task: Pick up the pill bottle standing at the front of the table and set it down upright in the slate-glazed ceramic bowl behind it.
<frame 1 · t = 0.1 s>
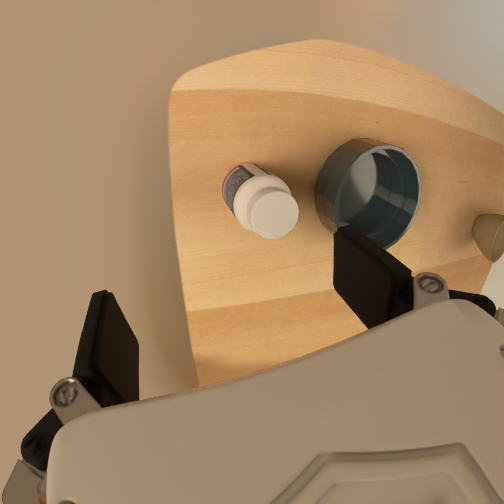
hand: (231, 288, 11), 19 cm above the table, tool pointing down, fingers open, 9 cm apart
flower pot: (477, 225, 46), on the table
pill bottle: (245, 186, 30), on the table
bowl: (358, 189, 33), on the table
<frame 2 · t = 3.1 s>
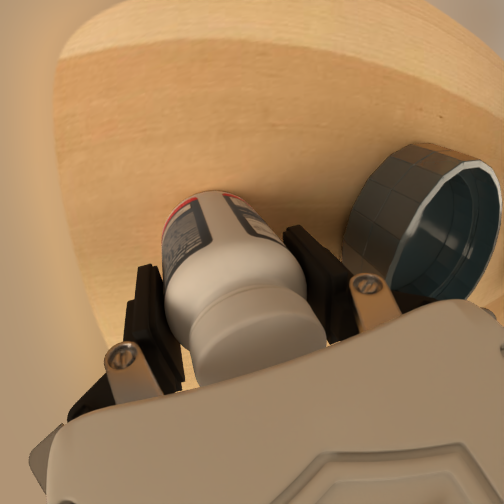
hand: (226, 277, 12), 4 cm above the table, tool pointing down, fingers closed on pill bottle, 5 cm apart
pill bottle: (210, 235, 15), on the table, touching gripper
bowl: (408, 227, 19), on the table
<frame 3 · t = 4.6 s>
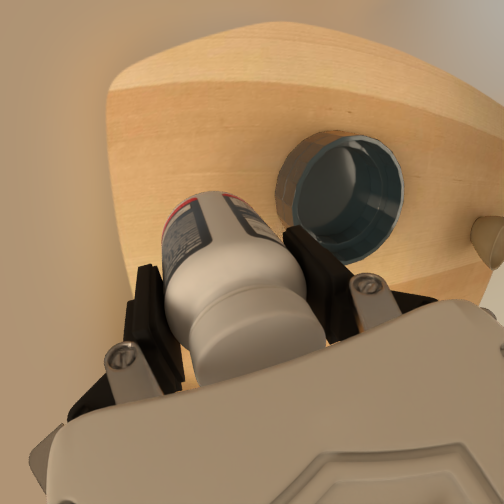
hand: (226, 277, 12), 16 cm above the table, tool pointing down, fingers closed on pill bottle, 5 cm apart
flower pot: (475, 229, 42), on the table
pill bottle: (210, 235, 15), point 12 cm above the table, touching gripper
bowl: (329, 189, 30), on the table
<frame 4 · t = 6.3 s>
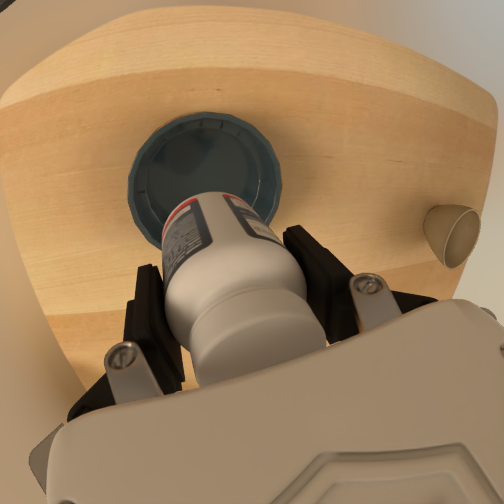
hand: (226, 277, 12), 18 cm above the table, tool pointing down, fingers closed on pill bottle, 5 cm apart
flower pot: (431, 220, 40), on the table
pill bottle: (211, 235, 15), point 14 cm above the table, touching gripper
bowl: (200, 178, 27), on the table
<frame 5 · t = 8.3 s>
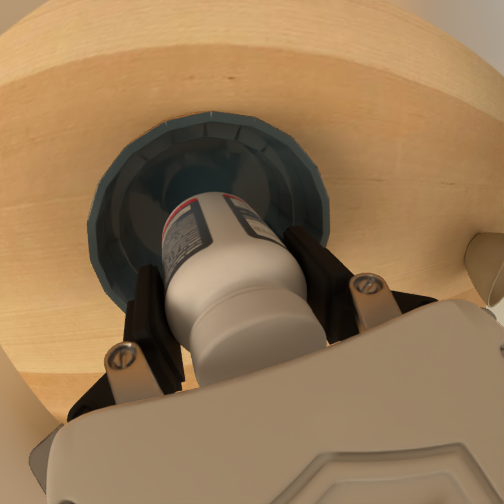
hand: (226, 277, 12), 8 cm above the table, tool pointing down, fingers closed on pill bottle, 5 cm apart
flower pot: (472, 249, 31), on the table
pill bottle: (211, 236, 15), point 4 cm above the table, touching gripper
bowl: (203, 211, 19), on the table
when the fingers open (4 cm above the table, at t = 9.7 s): pill bottle stays where it is, resting on bowl.
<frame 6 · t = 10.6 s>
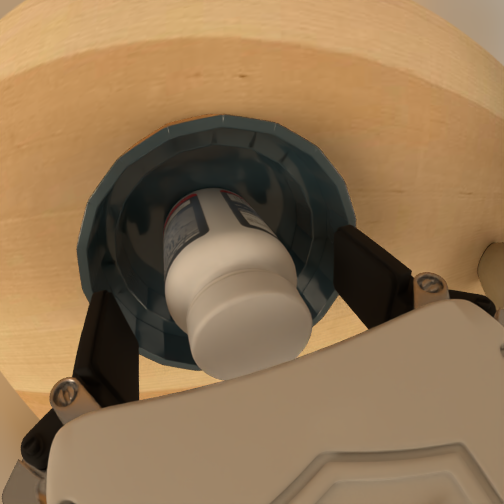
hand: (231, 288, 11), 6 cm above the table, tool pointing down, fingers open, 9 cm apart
flower pot: (485, 259, 29), on the table
pill bottle: (209, 229, 16), resting on bowl
bowl: (210, 228, 17), on the table
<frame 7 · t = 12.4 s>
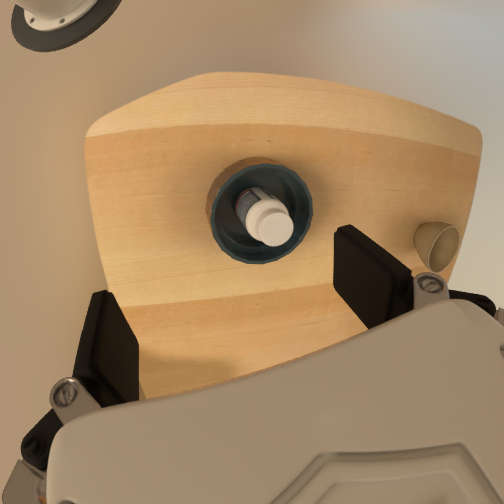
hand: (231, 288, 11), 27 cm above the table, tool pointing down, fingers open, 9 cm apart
flower pot: (421, 234, 51), on the table
pill bottle: (253, 204, 39), resting on bowl
bowl: (253, 204, 39), on the table
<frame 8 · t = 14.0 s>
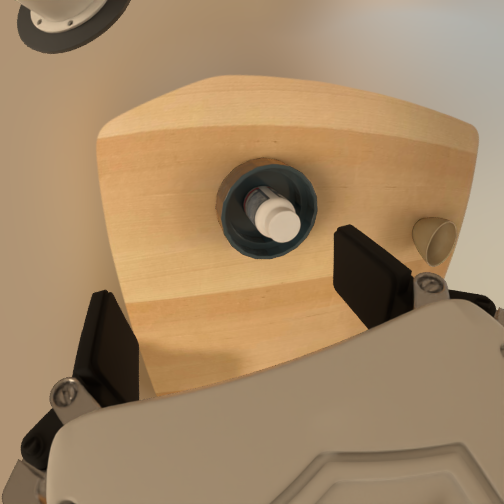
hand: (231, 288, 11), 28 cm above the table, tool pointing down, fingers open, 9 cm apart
flower pot: (419, 229, 53), on the table
pill bottle: (260, 202, 40), resting on bowl
bowl: (260, 202, 41), on the table
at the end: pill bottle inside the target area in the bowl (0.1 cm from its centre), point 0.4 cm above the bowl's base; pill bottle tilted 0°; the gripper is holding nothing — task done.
